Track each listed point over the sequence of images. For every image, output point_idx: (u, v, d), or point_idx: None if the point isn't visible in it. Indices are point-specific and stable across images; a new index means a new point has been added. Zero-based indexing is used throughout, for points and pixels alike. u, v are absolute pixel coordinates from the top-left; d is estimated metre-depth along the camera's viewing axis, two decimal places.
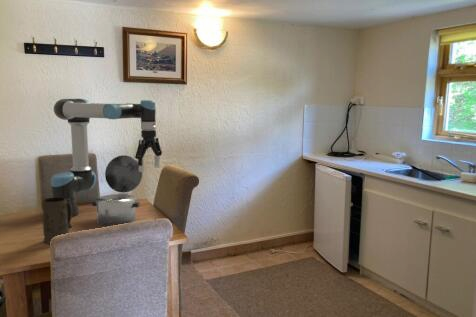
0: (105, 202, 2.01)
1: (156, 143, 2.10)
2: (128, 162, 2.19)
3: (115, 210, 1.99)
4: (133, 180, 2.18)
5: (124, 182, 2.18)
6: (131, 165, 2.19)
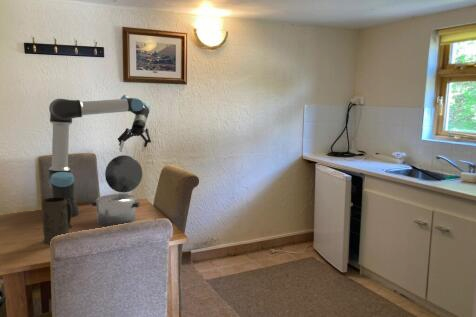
0: (105, 202, 2.01)
1: (127, 133, 2.38)
2: (128, 162, 2.19)
3: (115, 210, 1.99)
4: (133, 180, 2.18)
5: (124, 182, 2.18)
6: (131, 165, 2.19)
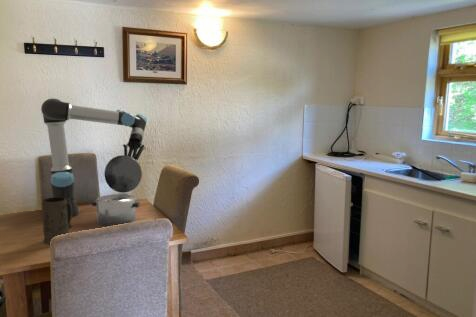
0: (105, 202, 2.01)
1: (126, 149, 2.31)
2: (127, 162, 2.17)
3: (115, 210, 1.99)
4: (133, 180, 2.17)
5: (124, 182, 2.18)
6: (130, 165, 2.17)
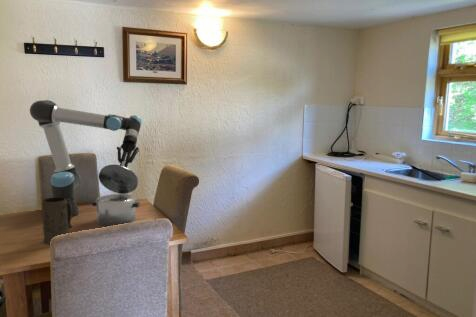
0: (105, 202, 2.01)
1: (120, 151, 2.21)
2: (120, 172, 2.06)
3: (115, 210, 1.99)
4: (130, 185, 2.13)
5: (122, 186, 2.14)
6: (124, 174, 2.07)
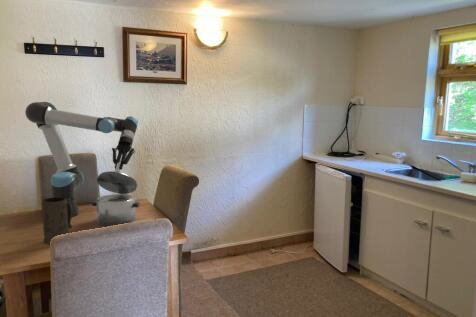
0: (105, 202, 2.01)
1: (115, 153, 2.17)
2: (118, 178, 2.04)
3: (115, 210, 1.99)
4: (130, 187, 2.12)
5: (121, 188, 2.13)
6: (122, 179, 2.05)
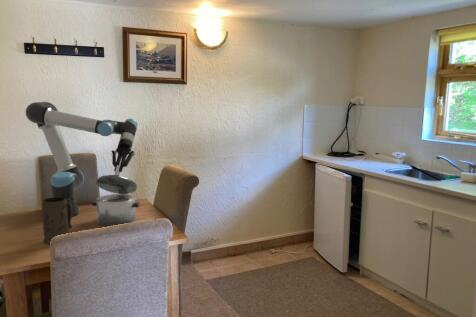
0: (105, 202, 2.01)
1: (115, 155, 2.16)
2: (117, 181, 2.03)
3: (115, 210, 1.99)
4: (129, 189, 2.12)
5: (121, 189, 2.13)
6: (121, 182, 2.04)
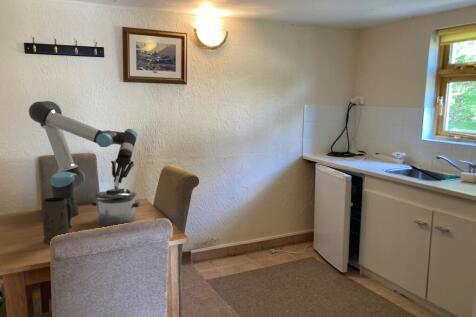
0: (105, 202, 2.01)
1: (115, 166, 2.17)
2: None
3: (115, 210, 1.99)
4: None
5: None
6: None
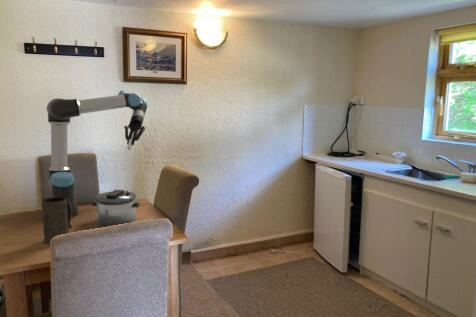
0: None
1: (127, 130, 2.36)
2: None
3: (115, 210, 1.99)
4: None
5: None
6: None
